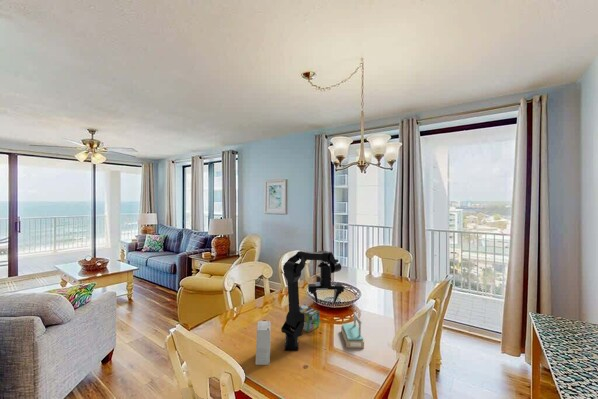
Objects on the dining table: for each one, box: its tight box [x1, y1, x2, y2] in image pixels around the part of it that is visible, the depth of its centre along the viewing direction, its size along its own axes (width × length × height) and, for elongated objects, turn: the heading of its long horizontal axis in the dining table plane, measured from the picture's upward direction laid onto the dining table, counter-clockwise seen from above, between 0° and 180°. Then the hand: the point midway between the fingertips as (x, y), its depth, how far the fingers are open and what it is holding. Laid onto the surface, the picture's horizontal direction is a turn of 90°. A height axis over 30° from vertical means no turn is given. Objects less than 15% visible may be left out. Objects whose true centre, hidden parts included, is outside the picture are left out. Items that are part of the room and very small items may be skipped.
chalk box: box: [299, 304, 323, 333], centre depth 144 cm, size 9×9×15 cm
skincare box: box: [254, 320, 272, 366], centre depth 113 cm, size 8×6×15 cm
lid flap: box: [341, 311, 364, 340], centre depth 132 cm, size 15×7×8 cm, turn 0°
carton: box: [340, 325, 365, 349], centre depth 132 cm, size 16×8×3 cm, turn 0°
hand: (325, 303), depth 141 cm, fingers open, 9 cm apart
